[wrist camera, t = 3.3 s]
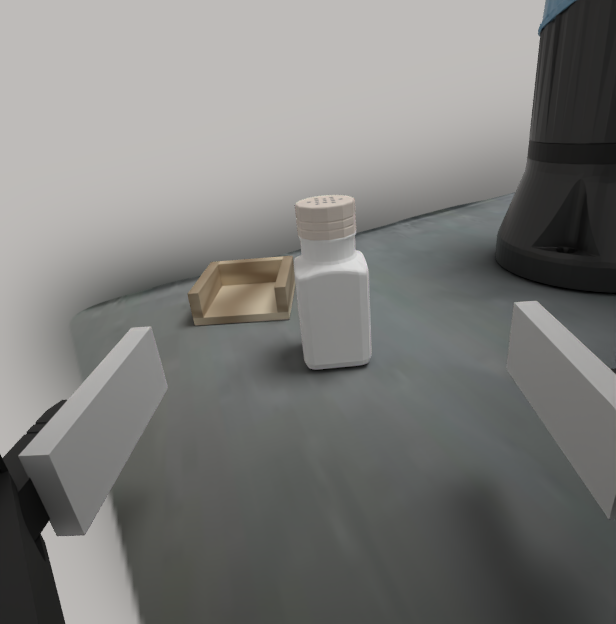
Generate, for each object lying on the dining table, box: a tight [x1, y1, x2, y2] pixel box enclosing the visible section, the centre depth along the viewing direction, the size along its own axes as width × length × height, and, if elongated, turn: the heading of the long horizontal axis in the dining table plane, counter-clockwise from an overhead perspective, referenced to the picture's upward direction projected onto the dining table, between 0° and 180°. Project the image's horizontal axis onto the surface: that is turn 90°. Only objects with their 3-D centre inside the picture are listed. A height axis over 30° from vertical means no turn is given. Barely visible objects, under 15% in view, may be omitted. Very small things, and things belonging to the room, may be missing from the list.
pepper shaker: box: [294, 195, 372, 370], centre depth 25 cm, size 4×4×10 cm
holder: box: [188, 256, 296, 326], centre depth 35 cm, size 7×7×3 cm
